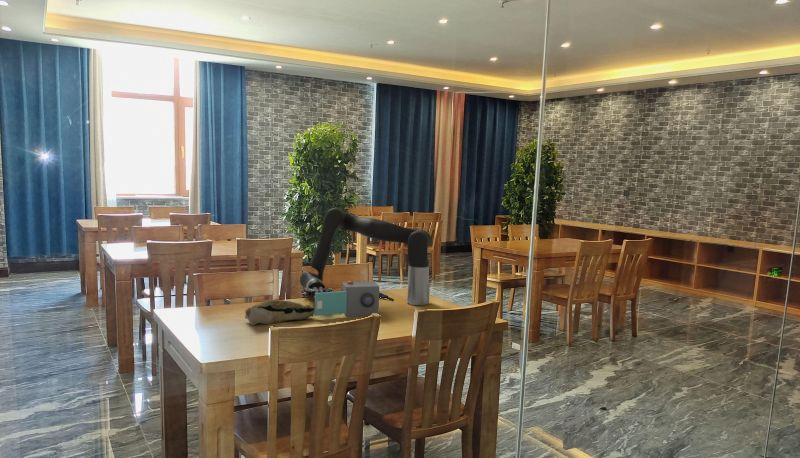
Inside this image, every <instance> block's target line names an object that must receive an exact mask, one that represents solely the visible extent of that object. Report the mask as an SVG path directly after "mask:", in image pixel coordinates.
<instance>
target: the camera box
mask: <svg viewBox="0 0 800 458" xmlns="http://www.w3.org/2000/svg"><path fill="white" fill-rule="evenodd" d="M341 291H347V301H346V313H343V315H344V316H345V317H355V316H359V317H360V316H371V315H370V314H372V313H378V314H379V315H380V313H379V312H380V310H379V309H380V299H379V292H380V285H379V284H378V283H376V281H354V280H347V281H342V282H341Z"/></svg>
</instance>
